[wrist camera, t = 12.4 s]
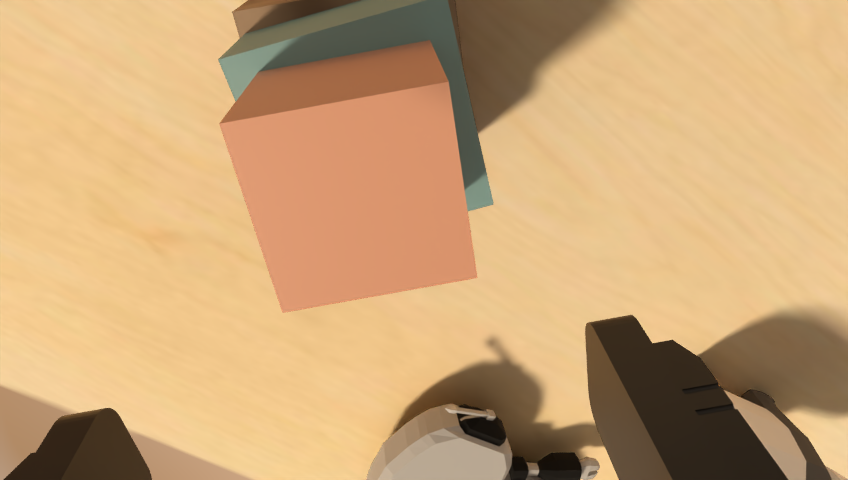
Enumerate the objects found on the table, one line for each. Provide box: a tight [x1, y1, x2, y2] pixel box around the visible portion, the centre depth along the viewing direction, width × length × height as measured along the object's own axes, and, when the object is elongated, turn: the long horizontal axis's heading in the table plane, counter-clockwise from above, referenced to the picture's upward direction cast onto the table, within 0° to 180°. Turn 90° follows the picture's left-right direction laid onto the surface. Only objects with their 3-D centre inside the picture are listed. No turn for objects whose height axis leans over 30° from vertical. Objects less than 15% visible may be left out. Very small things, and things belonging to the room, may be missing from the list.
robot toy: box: [366, 403, 600, 480], centre depth 43 cm, size 12×4×15 cm
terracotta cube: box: [220, 40, 477, 313], centre depth 20 cm, size 6×6×6 cm
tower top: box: [218, 0, 493, 211], centre depth 25 cm, size 8×8×5 cm
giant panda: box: [720, 387, 848, 480], centre depth 40 cm, size 15×6×10 cm, turn 60°
